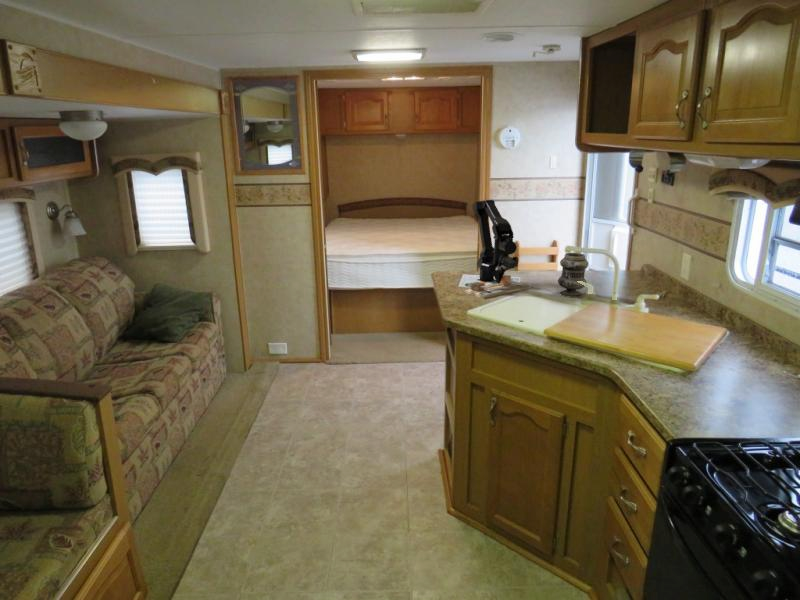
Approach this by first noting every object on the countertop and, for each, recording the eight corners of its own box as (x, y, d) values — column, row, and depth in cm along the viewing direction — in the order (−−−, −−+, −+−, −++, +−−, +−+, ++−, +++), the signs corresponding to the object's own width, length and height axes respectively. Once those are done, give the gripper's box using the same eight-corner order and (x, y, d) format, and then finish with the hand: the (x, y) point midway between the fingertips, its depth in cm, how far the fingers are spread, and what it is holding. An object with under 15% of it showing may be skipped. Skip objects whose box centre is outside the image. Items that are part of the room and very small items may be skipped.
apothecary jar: (570, 299, 234) (575, 258, 229) (551, 292, 244) (554, 253, 239) (591, 296, 239) (595, 255, 234) (571, 289, 250) (574, 250, 244)
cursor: (498, 283, 255) (498, 275, 253) (504, 282, 257) (504, 274, 256) (513, 287, 247) (514, 279, 246) (519, 286, 250) (520, 278, 248)
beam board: (464, 292, 244) (464, 289, 243) (510, 282, 261) (510, 279, 261) (483, 298, 235) (483, 295, 234) (530, 287, 252) (530, 284, 252)
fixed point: (470, 289, 244) (471, 283, 244) (477, 288, 247) (477, 281, 246) (486, 294, 237) (486, 287, 236) (492, 292, 240) (493, 286, 239)
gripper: (498, 255, 236) (496, 290, 240) (528, 250, 246) (525, 284, 251) (480, 251, 244) (478, 284, 249) (509, 246, 255) (507, 279, 259)
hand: (498, 283), depth 252 cm, fingers closed
